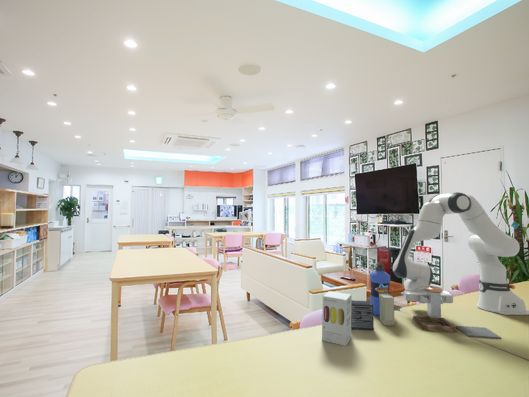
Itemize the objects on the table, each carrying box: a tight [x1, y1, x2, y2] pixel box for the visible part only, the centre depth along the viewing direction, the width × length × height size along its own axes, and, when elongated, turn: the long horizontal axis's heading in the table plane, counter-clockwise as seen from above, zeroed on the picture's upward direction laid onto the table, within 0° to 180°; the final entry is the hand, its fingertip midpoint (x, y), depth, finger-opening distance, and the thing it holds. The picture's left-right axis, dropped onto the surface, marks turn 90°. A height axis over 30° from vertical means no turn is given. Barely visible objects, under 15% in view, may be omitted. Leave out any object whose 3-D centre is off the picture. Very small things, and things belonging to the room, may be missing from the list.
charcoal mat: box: [455, 325, 502, 340], centre depth 122 cm, size 12×10×1 cm
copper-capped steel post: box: [425, 285, 443, 318], centre depth 129 cm, size 6×6×12 cm
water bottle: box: [369, 261, 391, 318], centre depth 143 cm, size 9×9×25 cm
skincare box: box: [379, 293, 395, 326], centre depth 131 cm, size 6×4×12 cm
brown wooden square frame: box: [412, 315, 457, 333], centre depth 129 cm, size 13×13×2 cm
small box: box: [351, 299, 375, 331], centre depth 126 cm, size 11×6×10 cm, turn 84°
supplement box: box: [321, 290, 352, 347], centre depth 113 cm, size 10×9×17 cm
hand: (434, 301), depth 128 cm, fingers closed on copper-capped steel post, 4 cm apart
